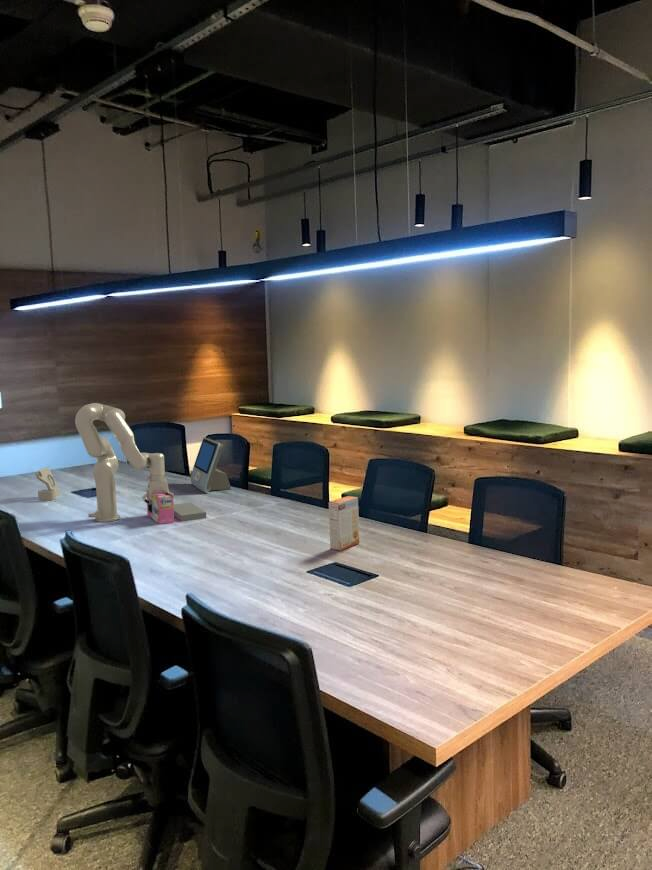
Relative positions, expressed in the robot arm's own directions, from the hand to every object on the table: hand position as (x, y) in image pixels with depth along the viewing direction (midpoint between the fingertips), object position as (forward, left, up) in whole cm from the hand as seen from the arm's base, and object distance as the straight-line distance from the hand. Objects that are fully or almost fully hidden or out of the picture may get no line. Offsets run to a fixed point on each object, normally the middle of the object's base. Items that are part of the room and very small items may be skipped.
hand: (158, 510), depth 369 cm
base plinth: (+14, 0, -4) cm, 15 cm away
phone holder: (-43, +83, -4) cm, 93 cm away
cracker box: (+56, -96, -4) cm, 111 cm away
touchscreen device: (+48, +60, -4) cm, 77 cm away
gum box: (0, -3, -4) cm, 5 cm away
